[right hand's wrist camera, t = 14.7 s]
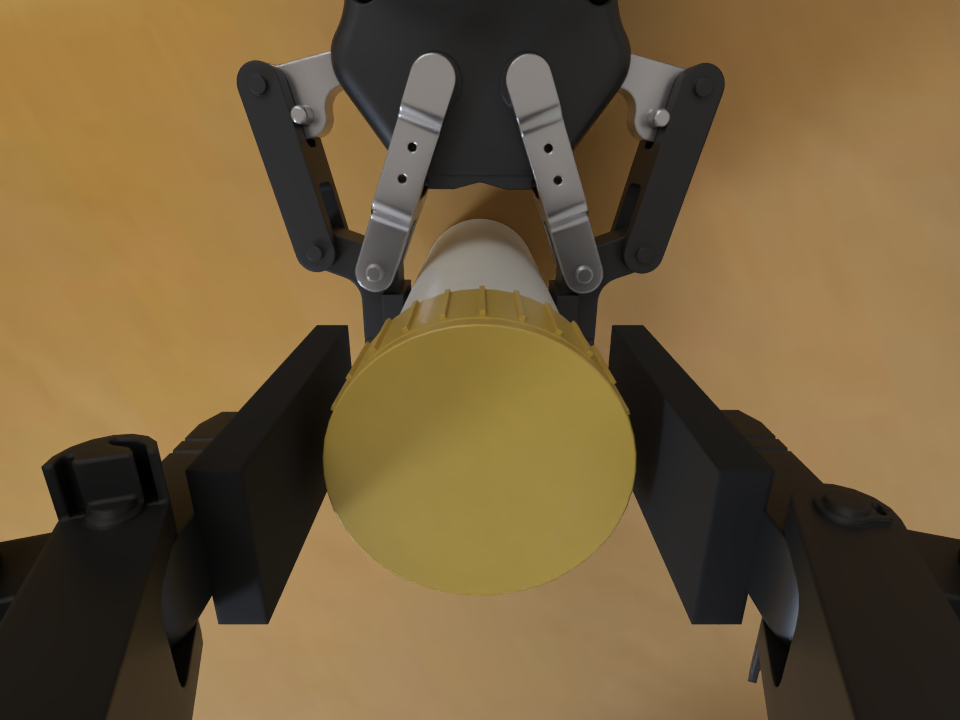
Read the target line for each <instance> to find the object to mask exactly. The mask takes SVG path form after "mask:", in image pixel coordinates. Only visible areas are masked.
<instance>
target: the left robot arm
mask: <svg viewBox="0 0 960 720" xmlns="http://www.w3.org/2000/svg"><path fill="white" fill-rule="evenodd" d="M724 86H725V81H724V77H723V74H722V72H721V70H720V69H719V68H718V67H716V66H715V65H713V64H710V63H702V64H698V65H696V66H693V67H690V68H687V69H683V68H680V67H676V66H673V65H669V64H666V63H662V62H659V61H655V60H652V59H648V58H645V57H641V56H638V55H634V54H631V49H630V43H629V40H628V37H627V35H626V33H625V30H624V28H623V25H622V22H621V19H620V14H619V8H618V0H345V1H344V8H343V13H342V17H341V20H340V23H339V26H338V28H337V30H336V32H335V34H334V37H333V40H332V45H331V51H328V52H325V53H321V54H317V55H313V56H310V57H306V58H302V59H299V60H295V61H291V62H287V63H284V64H280V65H273V64H270V63H265V62H262V61H257V60H255V61H249V62H247V63H245V64H244V65H243V66H242V67H241V68H240V70H239V72H238V75H237V87H238V91H239V94H240V97H241V99H242V102H243V105H244V108H245V111H246V114H247V117H248V119H249V122H250V125H251V128H252V131H253V134H254V137H255V139H256V142H257V145H258V148H259V151H260V154H261V157H262V159H263V162H264V165H265V168H266V171H267V174H268V177H269V179H270V182H271V185H272V188H273V191H274V194H275V197H276V200H277V202H278V205H279V208H280V211H281V214H282V217H283V220H284V222H285V225H286V228H287V231H288V234H289V237H290V240H291V242H292V245H293V248H294V251H295V254H296V257H297V259H298V261H299V263H300V264H301V265H302V266H303V267H304V268H306V269H307V270H309V271H313V272H322V271H325V270H326V271H328V272H331V273H334V274H337V275H340V276H342V277H345V278H347V279H349V280H351V281H352V282H353V283H354V284H355V285H356V286H357V287H358V289H359V291H360V293H361V296H362V303H363V318H364V332H365V344H366V342H367V341H368V342H370V343H371V342H372V341H373V340H374V338H375V337H376V336H377V335H378V334H379V332H380V330H381V329H382V327H383V325H384V323H385V321H386V320H387V319H388V318H390V319H391V320H393V319H394V318H395V317H396V316H398V315H399V314H400V313H401V311H402V309H403V307H404V304H405V302H406V300H407V298H408V296H409V294H410V292H411V280H404V260H405V257H406V254H407V251H408V248H409V245H410V242H411V239H412V236H413V233H414V230H415V227H416V224H417V221H418V218H419V216H420V213H421V211H422V208H423V205H424V202H425V199H426V196H427V193H428V190H429V189H456V188H459V187H463V186H467V185H470V184H474V183H478V182H482V183H486V184H489V185H493V186H496V187H499V188H503V189H506V190H531V192H532V195H533V198H534V201H535V204H536V207H537V210H538V213H539V216H540V218H541V221H542V224H543V227H544V230H545V233H546V236H547V240H548V243H549V246H550V249H551V252H552V256H553V259H554V262H555V265H556V280H549V293H550V295H551V297H552V299H553V301H554V303H555V306H556V308H557V310H558V312H559V314H560V315H562V316H563V317H564V318H565V319H567V320H568V321H569V322H570V323H571V322H572V321H575V322H576V323H577V325H578V326H579V328H580V330H581V332H582V334H583V336H584V337H585V339H586V340H587V342H588V343H589V345H590V346H593V345H594V338H595V326H596V314H597V302H598V297H599V294H600V292H601V290H602V289H603V287H604V286H605V285H606V284H607V283H609V282H610V281H612V280H614V279H616V278H619V277H622V276H625V275H628V274H631V273H634V272H636V273H640V274H642V273H648V272H651V271H653V270H654V269H655V268H657V267H658V265H659V264H660V263H661V261H662V258H663V256H664V253H665V250H666V247H667V245H668V242H669V239H670V236H671V234H672V231H673V228H674V226H675V223H676V220H677V217H678V215H679V212H680V209H681V206H682V204H683V201H684V198H685V195H686V193H687V190H688V187H689V185H690V182H691V179H692V176H693V174H694V171H695V168H696V165H697V163H698V160H699V157H700V154H701V152H702V149H703V146H704V144H705V141H706V138H707V135H708V133H709V130H710V127H711V124H712V122H713V119H714V116H715V113H716V111H717V108H718V105H719V102H720V100H721V97H722V94H723V91H724ZM342 90H344V91H345V92H346V93H347V95H348V96H349V97H350V99H351V100H352V102H353V103H354V104H355V106H356V107H357V109H358V110H359V111H360V113H361V114H362V115H363V117H364V118H365V120H366V121H367V122H368V124H369V125H370V127H371V128H372V129H373V131H374V132H375V133H376V135H377V136H378V138H379V139H380V140H381V142H382V143H383V144H384V146H385V147H386V149H387V150H388V152H387V156H386V159H385V162H384V166H383V169H382V172H381V176H380V179H379V183H378V186H377V189H376V193H375V196H374V199H373V203H372V208H371V217H370V221H369V224H368V228H367V231H366V234H365V236H364V235H362V234H359V233H356V232H354V231H351V230H349V229H348V226H347V222H346V219H345V216H344V213H343V210H342V206H341V203H340V200H339V197H338V193H337V190H336V187H335V184H334V181H333V177H332V174H331V171H330V168H329V164H328V161H327V158H326V155H325V152H324V148H323V145H322V142H321V139H320V138H322V137H324V136H326V135H327V134H328V133H329V132H330V131H331V129H332V127H333V122H334V117H333V102H334V99H335V97H336V96H337V94H338V93H339V92H341V91H342ZM617 92H618V93H620V94H621V95H622V96H623V97H624V98H625V100H626V102H627V105H628V117H627V127H628V131H629V132H630V134H631V135H632V136H633V137H634V138H635V139H637V140H639V141H640V142H639V145H638V148H637V151H636V155H635V158H634V161H633V164H632V167H631V170H630V173H629V176H628V179H627V182H626V185H625V188H624V191H623V194H622V197H621V200H620V204H619V207H618V210H617V213H616V216H615V219H614V222H613V225H612V228H611V231H610V232H608V233H605V234H603V235H600V236H597V237H594V236H593V232H592V229H591V225H590V222H589V218H588V207H587V202H586V199H585V195H584V192H583V188H582V184H581V181H580V177H579V174H578V170H577V167H576V163H575V160H574V156H573V153H572V152H573V151H574V149H575V148H576V147H577V145H578V144H579V143H580V141H581V140H582V139H583V137H584V136H585V135H586V133H587V132H588V131H589V129H590V128H591V127H592V125H593V124H594V123H595V121H596V120H597V119H598V117H599V116H600V115H601V113H602V112H603V111H604V109H605V108H606V107H607V105H608V104H609V103H610V101H611V100H612V98H613V97H614V96H615V94H616V93H617Z"/></svg>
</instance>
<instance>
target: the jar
mask: <svg viewBox="0 0 960 720" xmlns="http://www.w3.org/2000/svg"><path fill="white" fill-rule="evenodd" d="M479 286H485V289H493V290H501V291H506V292H512V293H513V291H514V290H517V291H519V293H520V295H522V296H525V297H528V298H531V299H533V300H536V301H538V302H540V303H542V304H545V303H546V302H548V303H550V304H551V306H552V308H553V310H554V311H556V312H557V313H559V312H558V310H557V308H556V306H555V303H554V301H553V299H552V297H551V295H550V293H549V291H548V289H547V287H546V285H545V282H544V280H543V278H542V276H541V274H540V272H539V270H538V268H537V266H536V263H535V261H534V259H533V257H532V255H531V253H530V251H529V249H528V247H527V245H526V243H525V242H524V240H523V239H522V238H521V237H520V236H519V235H518V234H517V233H516V232H515V231H514V230H512V229H511V228H509V227H508V226H506V225H504V224H502V223H500V222H497V221H494V220H489V219H471V220H466V221H463V222H460V223H457V224H455V225H454V226H452V227H450V228H449V229H447V230H446V231H445V232H444V233H443V234H441V235H440V236H439V238H438V239H437V240H436V241H435V243H434V245H433V246H432V248H431V250H430V252H429V254H428V256H427V258H426V260H425V263H424V265H423V267H422V269H421V271H420V273H419V275H418V277H417V279H416V281H415V283H414V286H413V288H412V290H411V292H410V294H409V296H408V298H407V300H406V302H405V304H404V307H403V309H402V311H401V313H402V312H404V311H405V310H407V309H408V308H410V307H411V305H412V303H413V302H414V301H416V300H418V301H419V303H420V302H422V301H424V300H426V299H429V298H432V297H434V296H437V295H440V294H444V292H445V290H446V289H450V290H451V292H453V291H458V290H468V289H479ZM401 313H400V314H401Z"/></svg>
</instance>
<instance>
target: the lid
mask: <svg viewBox="0 0 960 720" xmlns="http://www.w3.org/2000/svg"><path fill="white" fill-rule="evenodd" d="M346 379H347V380H346V382H345V384H344V385H343V387H342V389H341V391H340V392H339V394H338V396H337V398H336V399H335V401H334V403H333V405H332V407H331V410H332V411H333V413H332V415H331V417H330V420H329V423H328V427H327V431H326V435H325V439H324V449H323V471H324V478H325V483H326V488H327V493H328V495H329V498H330V501H331V504H332V506H333V509H334V511H335V513H336V515H337V517H338V518H339V520H340V522H341V524H342V526H343V527H344V528H345V530H346V531H347V533H348V534H349V535H350V537H351V538H352V539H353V540H354V542H355V543H356V544H357V545H358V546H359V547H360V548H361V549H362V550H363V551H364V552H365V553H366V554H367V555H368V556H370V557H371V558H372V559H373V560H374V561H376V562H377V563H378V564H380V565H381V566H383V567H384V568H386V569H387V570H389V571H390V572H392V573H393V574H395V575H397V576H399V577H401V578H404V579H406V580H408V581H410V582H412V583H415V584H418V585H420V586H423V587H426V588H429V589H433V590H437V591H441V592H445V593H452V594H459V595H472V596H488V595H502V594H508V593H514V592H519V591H523V590H526V589H530V588H534V587H537V586H539V585H542V584H544V583H547V582H550V581H552V580H554V579H556V578H558V577H560V576H562V575H564V574H566V573H568V572H569V571H571V570H572V569H574V568H575V567H577V566H578V565H580V564H581V563H583V562H584V561H585V560H586V559H587V558H589V557H590V556H591V555H592V554H593V553H594V552H595V551H597V550H598V549H599V548H600V546H601V545H602V544H603V543H604V542H605V541H606V540H607V539H608V537H609V536H610V535H611V533H612V532H613V530H614V529H615V527H616V526H617V525H618V523H619V522H620V520H621V518H622V516H623V514H624V512H625V510H626V508H627V505H628V502H629V499H630V496H631V493H632V490H633V486H634V480H635V475H636V456H637V452H636V445H635V437H634V432H633V429H632V426H631V422H630V419H629V416H628V415H630V412H629V409H628V407H627V406H626V404H625V402H624V400H623V398H622V397H621V395H620V393H619V391H618V390H617V388H616V386H615V383H616V381H615V379H614V377H613V375H612V374H611V372H610V370H609V369H608V367H607V365H606V363H605V362H604V360H603V358H602V356H601V355H600V353H599V351H598V350H597V348H596V346H595V345H593V346H590V345H589V343H588V342H587V340H586V339H585V337H584V336H583V334H582V332H581V330H580V328H579V326H578V325H577V323H576V322H575V321H572V322H571V323H570V322H569V321H568V320H567V319H565V318H564V317H563V316H562V315H560V314H559V313H557V312H556V311H554V310H553V308H552V306H551V304H550V303H548V302H546V303H545V304H542V303H540V302H538V301H536V300H533V299H531V298H528V297H525V296H522V295H520V293H519V291H517V290H514V291H513V293H512V292H506V291H501V290H493V289H485V286H479V289H468V290H458V291H453V292H451V290H450V289H446V290H445V292H444V294H440V295H437V296H434V297H432V298H429V299H426V300H424V301H422V302H420V303H419V301H418V300H416V301H414V302H413V303H412V305H411V307H410V308H408V309H407V310H405V311H404V312H402V313H401V314H399V315H398V316H396V317H395V318H394V319H393V320H391V319H390V318H388V319H387V320H386V321H385V323H384V325H383V327H382V329H381V330H380V332H379V334H378V335H377V336H376V337H375V338H374V340H373V341H372V342H371V343H370V342H368V341H367V342H366V344H365V345H364V347H363V349H362V351H361V352H360V354H359V356H358V358H357V359H356V361H355V363H354V364H353V366H352V368H351V370H350V371H349V373H348V375H347V377H346Z"/></svg>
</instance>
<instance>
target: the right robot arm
mask: <svg viewBox="0 0 960 720" xmlns="http://www.w3.org/2000/svg"><path fill="white" fill-rule="evenodd" d="M351 368H352V367H351V356H350V345H349V333H348V325H317V326H316V327H315V328H314V329H313V330H312V331H311V332H310V333H309V335H308V336H307V337H306V338H305V339H304V340H303V341H302V342H301V343H300V344H299V346H298V347H297V348H296V349H295V350H294V351H293V352H292V353H291V354H290V355H289V357H288V358H287V359H286V360H285V361H284V362H283V363H282V364H281V365H280V366H279V368H278V369H277V370H276V371H275V372H274V373H273V374H272V375H271V376H270V377H269V379H268V380H267V381H266V382H265V383H264V384H263V385H262V386H261V387H260V388H259V390H258V391H257V392H256V393H255V394H254V395H253V396H252V397H251V398H250V399H249V401H248V402H247V403H246V404H245V405H244V406H243V407H242V408H241V409H240V410H239V412H221V413H219V414H217V415H215V416H214V417H212V418H210V419H208V420H206V421H204V422H202V423H201V424H199V425H198V426H197V427H196V428H195V429H194V430H193V431H192V432H191V433H190V434H189V435H188V436H187V437H186V438H185V441H182V442H181V443H180V444H179V445H178V446H177V447H176V448H175V449H174V450H173V453H170V454H169V455H168V456H167V457H166V458H165V459H164V460H163V461H162V462H161V458H160V454H159V450H158V445H157V442H156V441H155V440H153V439H152V438H150V437H149V436H144V435H137V434H123V435H112V436H107V437H102V438H97V439H92V440H89V441H86V442H84V443H81V444H78V445H75V446H72V447H70V448H68V449H66V450H64V451H62V452H60V453H58V454H57V455H55V456H53V457H52V458H51V459H49V460H48V461H47V462H46V463H45V464H44V465H43V466H42V467H41V468H42V471H43V474H44V477H45V480H46V483H47V486H48V489H49V492H50V495H51V498H52V501H53V505H54V508H55V511H56V514H57V517H58V520H59V521H58V523H57V524H56V526H55V528H54V530H53V531H52V533H47V534H42V535H36V536H31V537H26V538H20V539H15V540H9V541H4V542H0V720H192V716H193V709H194V702H195V695H196V688H197V681H198V674H199V667H200V661H201V654H202V647H203V640H202V633H201V628H200V624H199V620H198V618H199V617H200V615H201V613H202V612H203V610H204V608H205V607H206V605H207V603H208V601H209V600H210V598H211V596H213V601H214V605H215V610H216V615H217V619H218V624H268V623H269V621H270V619H271V617H272V614H273V612H274V610H275V608H276V605H277V603H278V601H279V599H280V596H281V594H282V592H283V590H284V587H285V585H286V583H287V580H288V578H289V576H290V574H291V571H292V569H293V567H294V565H295V562H296V560H297V558H298V556H299V553H300V551H301V549H302V547H303V544H304V542H305V540H306V538H307V535H308V533H309V531H310V529H311V526H312V524H313V522H314V520H315V517H316V515H317V513H318V510H319V508H320V506H321V504H322V501H323V499H324V497H325V495H326V492H327V488H326V483H325V478H324V471H323V449H324V439H325V435H326V431H327V427H328V423H329V420H330V417H331V415H332V413H333V411H332V410H331V407H332V405H333V403H334V401H335V399H336V398H337V396H338V394H339V392H340V391H341V389H342V387H343V385H344V384H345V382H346V380H347V379H346V377H347V375H348V373H349V371H350V370H351ZM608 369H609V370H610V372H611V374H612V375H613V377H614V379H615V381H616V383H615V386H616V388H617V390H618V391H619V393H620V395H621V397H622V398H623V400H624V402H625V404H626V406H627V407H628V409H629V412H630V415H628V416H629V419H630V422H631V426H632V429H633V432H634V437H635V445H636V452H637V456H636V475H635V480H634V486H633V492H634V495H635V497H636V499H637V501H638V504H639V506H640V508H641V510H642V513H643V515H644V517H645V519H646V522H647V524H648V526H649V529H650V531H651V533H652V535H653V538H654V540H655V542H656V544H657V547H658V549H659V551H660V553H661V556H662V558H663V560H664V562H665V565H666V567H667V569H668V571H669V574H670V576H671V578H672V580H673V583H674V585H675V587H676V589H677V592H678V594H679V596H680V599H681V601H682V603H683V605H684V608H685V610H686V612H687V614H688V617H689V619H690V621H691V623H692V624H742V619H743V615H744V610H745V606H746V601H747V596H748V594H749V595H750V597H751V599H752V600H753V602H754V604H755V605H756V607H757V609H758V610H759V612H760V614H761V615H762V620H761V624H760V628H759V633H758V637H757V641H756V645H755V650H754V654H753V658H752V662H751V667H750V672H749V679H748V681H749V682H753V683H756V682H757V678H758V674H759V671H760V670H761V673H762V680H763V687H764V694H765V701H766V708H767V715H768V720H960V539H954V538H949V537H944V536H938V535H933V534H927V533H922V532H917V531H911V530H907V529H906V527H905V525H904V523H903V522H902V520H901V519H900V518H899V517H898V516H897V514H896V513H895V512H894V511H893V510H892V509H891V508H890V507H888V506H887V505H885V504H883V503H882V502H880V501H879V500H877V499H876V498H874V497H871V496H869V495H867V494H864V493H862V492H859V491H857V490H855V489H851V488H847V487H843V486H839V485H834V484H823V483H822V482H821V481H820V480H819V479H818V478H817V477H816V476H815V475H814V474H813V473H812V472H811V471H810V470H809V469H808V468H807V467H806V466H805V465H804V464H803V463H802V462H801V461H800V460H799V459H798V458H797V457H796V456H795V455H794V454H793V453H792V452H791V451H788V450H787V447H786V446H785V445H784V444H783V443H782V442H781V441H780V440H779V439H775V435H774V434H773V433H772V432H770V431H769V430H768V429H767V428H766V427H765V426H764V425H763V424H762V423H761V422H760V421H758V420H756V419H754V418H752V417H750V416H748V415H747V414H745V413H743V412H741V411H739V410H720V409H719V408H718V407H717V406H716V405H715V404H714V403H713V402H712V401H711V399H710V398H709V397H708V396H707V395H706V394H705V393H704V392H703V391H702V390H701V388H700V387H699V386H698V385H697V384H696V383H695V382H694V381H693V380H692V379H691V377H690V376H689V375H688V374H687V373H686V372H685V371H684V370H683V369H682V368H681V366H680V365H679V364H678V363H677V362H676V361H675V360H674V359H673V358H672V357H671V355H670V354H669V353H668V352H667V351H666V350H665V349H664V348H663V347H662V346H661V344H660V343H659V342H658V341H657V340H656V339H655V338H654V337H653V336H652V335H651V333H650V332H649V331H648V330H647V329H646V328H645V327H644V326H643V325H612V333H611V345H610V356H609V367H608Z"/></svg>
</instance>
